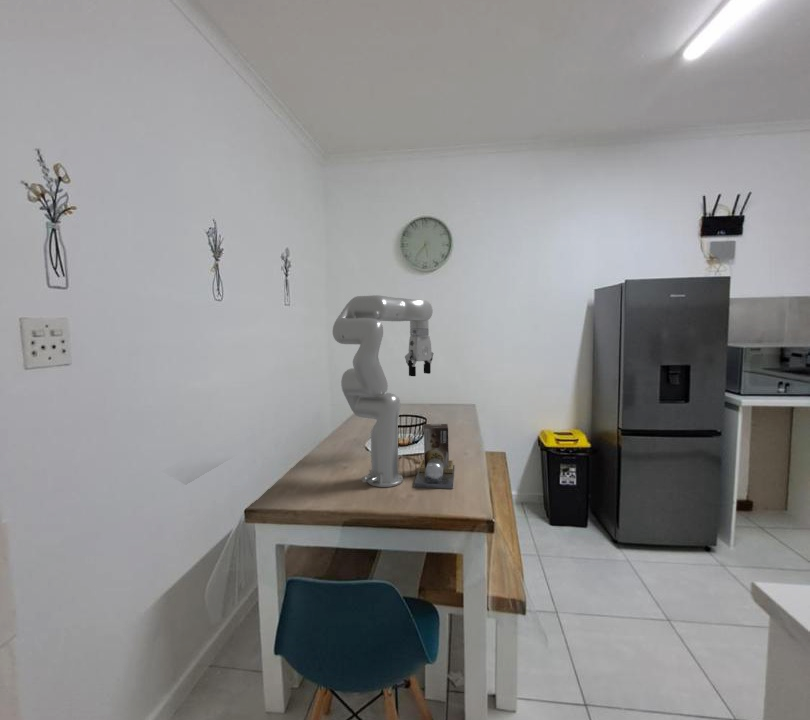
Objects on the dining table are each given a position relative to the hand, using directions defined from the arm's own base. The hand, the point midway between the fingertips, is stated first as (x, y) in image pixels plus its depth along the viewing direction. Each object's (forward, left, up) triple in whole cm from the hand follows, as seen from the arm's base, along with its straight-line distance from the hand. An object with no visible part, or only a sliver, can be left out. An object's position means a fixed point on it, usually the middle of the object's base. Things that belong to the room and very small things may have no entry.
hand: (419, 374), depth 174 cm
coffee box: (-11, -16, -33) cm, 39 cm away
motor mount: (-16, -19, -35) cm, 42 cm away
